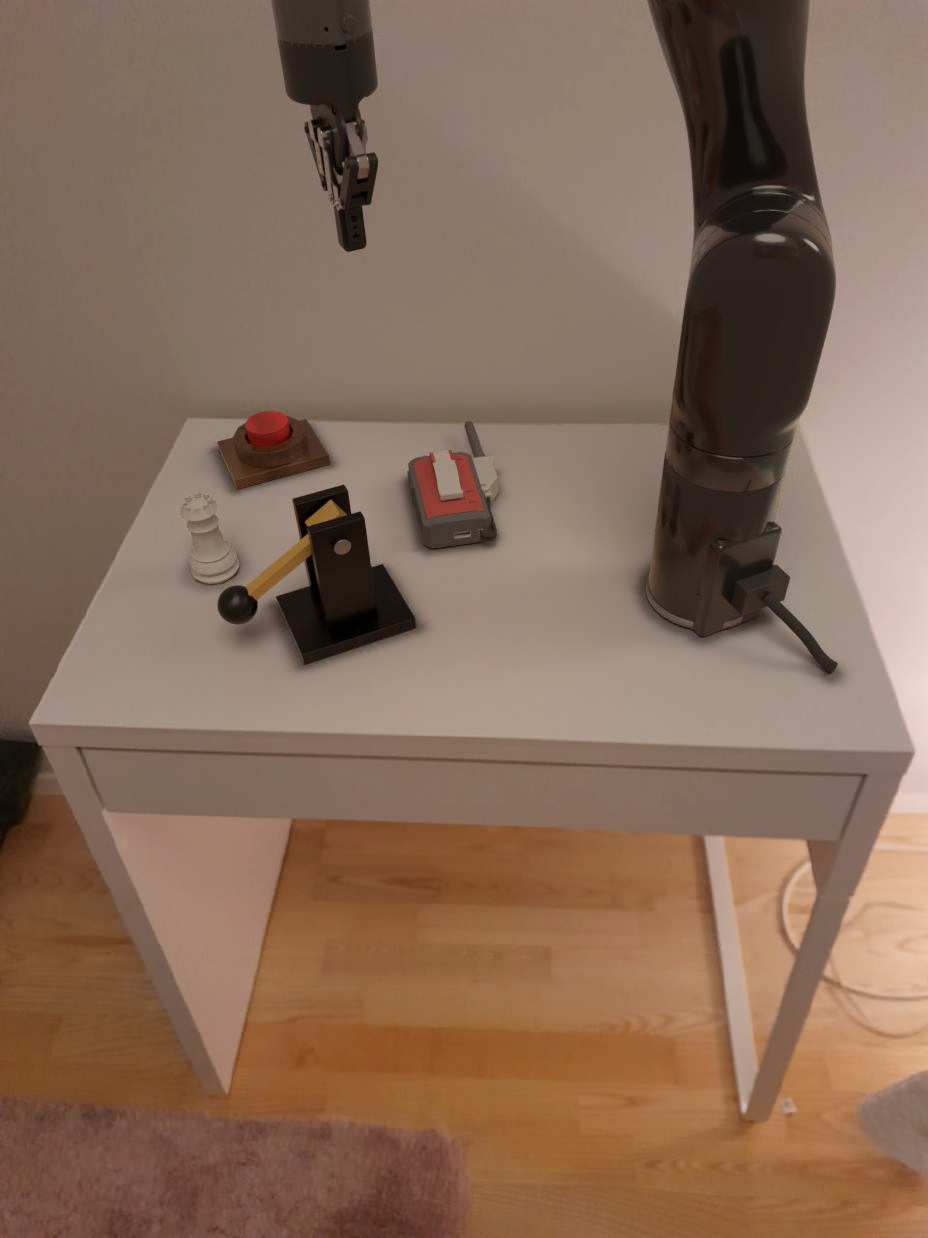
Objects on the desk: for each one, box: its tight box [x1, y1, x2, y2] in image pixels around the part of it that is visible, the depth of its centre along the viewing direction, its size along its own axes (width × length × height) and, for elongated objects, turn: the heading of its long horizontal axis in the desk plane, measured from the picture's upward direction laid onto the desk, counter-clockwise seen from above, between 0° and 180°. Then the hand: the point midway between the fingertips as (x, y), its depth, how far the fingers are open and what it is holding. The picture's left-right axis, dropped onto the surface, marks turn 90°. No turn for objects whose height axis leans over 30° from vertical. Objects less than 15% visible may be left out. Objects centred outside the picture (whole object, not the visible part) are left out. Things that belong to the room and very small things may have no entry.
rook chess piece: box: [179, 491, 240, 585], centre depth 84 cm, size 4×4×8 cm
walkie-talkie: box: [406, 420, 500, 549], centre depth 93 cm, size 9×4×20 cm
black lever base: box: [275, 484, 417, 666], centre depth 78 cm, size 10×8×12 cm
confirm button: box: [244, 410, 291, 447], centre depth 98 cm, size 4×4×2 cm
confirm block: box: [216, 415, 331, 490], centre depth 99 cm, size 10×8×3 cm
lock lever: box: [216, 500, 347, 626], centre depth 75 cm, size 13×3×3 cm, turn 115°
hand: (353, 247), depth 85 cm, fingers closed
